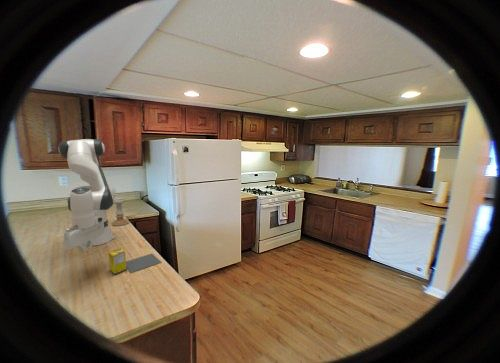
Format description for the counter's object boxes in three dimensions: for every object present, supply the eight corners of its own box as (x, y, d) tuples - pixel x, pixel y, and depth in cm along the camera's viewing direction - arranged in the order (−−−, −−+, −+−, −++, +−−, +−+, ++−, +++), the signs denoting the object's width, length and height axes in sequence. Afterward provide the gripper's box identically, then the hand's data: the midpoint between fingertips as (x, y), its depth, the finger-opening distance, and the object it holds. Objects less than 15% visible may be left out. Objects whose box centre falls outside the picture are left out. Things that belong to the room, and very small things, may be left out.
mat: (123, 263, 126) (123, 262, 126) (152, 253, 137) (152, 253, 137) (130, 273, 116) (130, 272, 116) (161, 262, 127) (161, 262, 127)
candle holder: (114, 222, 192) (112, 199, 189) (130, 220, 196) (128, 198, 193) (110, 227, 181) (107, 203, 178) (127, 225, 185) (125, 201, 181)
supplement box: (122, 266, 122) (120, 247, 121) (126, 270, 119) (125, 251, 117) (110, 271, 118) (108, 251, 116) (114, 275, 114) (112, 255, 112)
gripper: (71, 230, 95) (74, 261, 97) (105, 216, 115) (108, 241, 117) (57, 230, 95) (61, 260, 97) (94, 215, 115) (96, 241, 117)
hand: (87, 250), depth 107 cm, fingers closed
